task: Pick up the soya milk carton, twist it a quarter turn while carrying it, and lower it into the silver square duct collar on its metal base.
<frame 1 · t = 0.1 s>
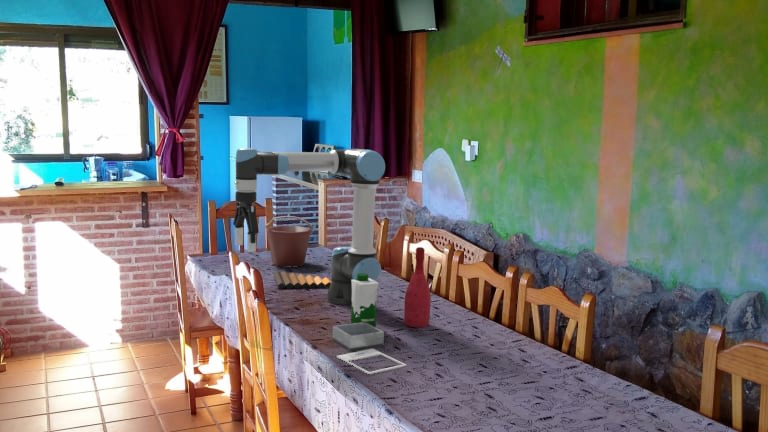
hand: (245, 248, 259), 28 cm above the table, tool pointing down, fingers open, 13 cm apart
soya milk: (363, 329, 261), on the table
bucket: (288, 264, 367), on the table
pan flute: (302, 283, 329), on the table
photo frame: (370, 363, 226), on the table
wine bottle: (416, 325, 268), on the table
duct collar: (357, 343, 244), on the table
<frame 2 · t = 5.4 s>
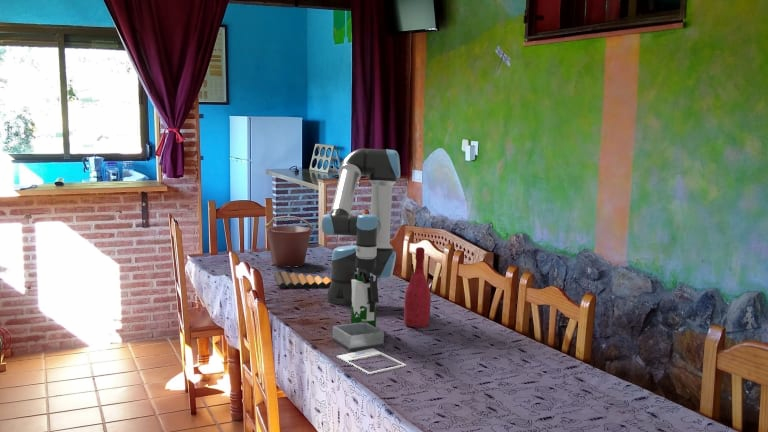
hand: (363, 316, 260), 4 cm above the table, tool pointing down, fingers closed on soya milk, 9 cm apart
soya milk: (363, 329, 261), on the table, touching gripper
when the fingers open (7 cm above the table, at t = 12.3 s): soya milk drops 2 cm, resting on duct collar.
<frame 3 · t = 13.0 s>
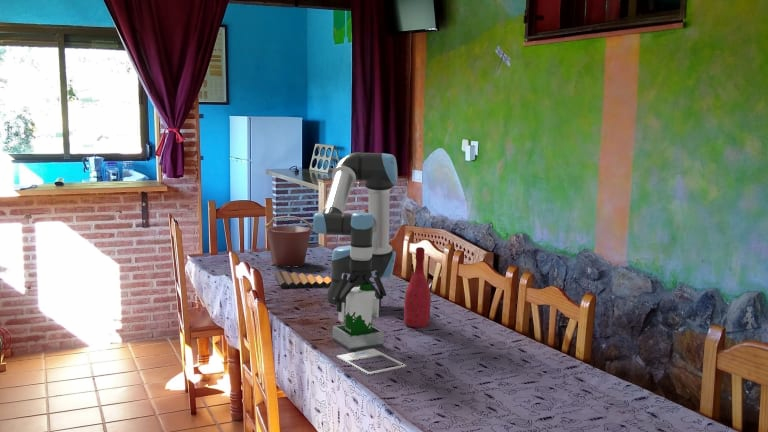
hand: (358, 318, 242), 9 cm above the table, tool pointing down, fingers open, 13 cm apart
soya milk: (357, 340, 244), point 1 cm above the table, touching duct collar
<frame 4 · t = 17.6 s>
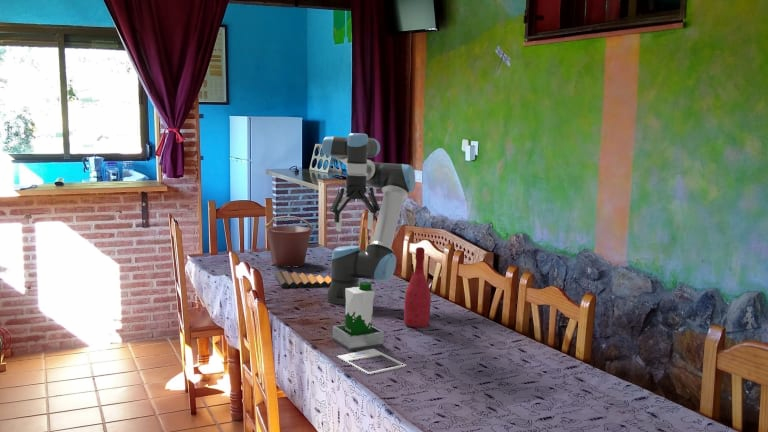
hand: (354, 230, 268), 35 cm above the table, tool pointing down, fingers open, 13 cm apart
at the end: soya milk 0.1 cm off-centre on the duct collar, point 0.8 cm above the duct collar's base; soya milk tilted 0°; the gripper is holding nothing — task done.
